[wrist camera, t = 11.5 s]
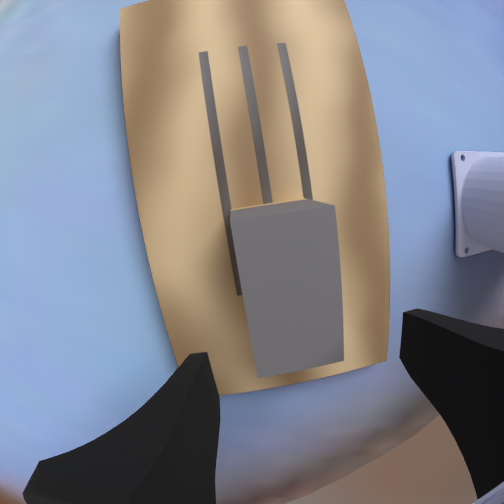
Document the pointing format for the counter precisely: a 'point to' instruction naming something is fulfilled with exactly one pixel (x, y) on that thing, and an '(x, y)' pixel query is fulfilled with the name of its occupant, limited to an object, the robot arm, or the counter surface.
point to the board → (251, 163)
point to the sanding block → (290, 284)
